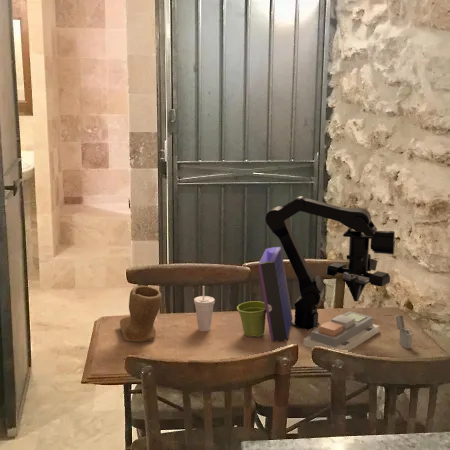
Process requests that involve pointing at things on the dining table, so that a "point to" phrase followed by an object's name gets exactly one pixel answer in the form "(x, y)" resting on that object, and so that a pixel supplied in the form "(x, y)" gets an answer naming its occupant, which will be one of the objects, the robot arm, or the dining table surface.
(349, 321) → the grey key
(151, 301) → the brown clay boot
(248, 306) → the plant pot
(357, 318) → the sage key
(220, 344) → the dining table surface
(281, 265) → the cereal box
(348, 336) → the grey piece
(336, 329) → the clay key
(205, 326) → the smoothie
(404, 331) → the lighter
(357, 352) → the dining table surface
